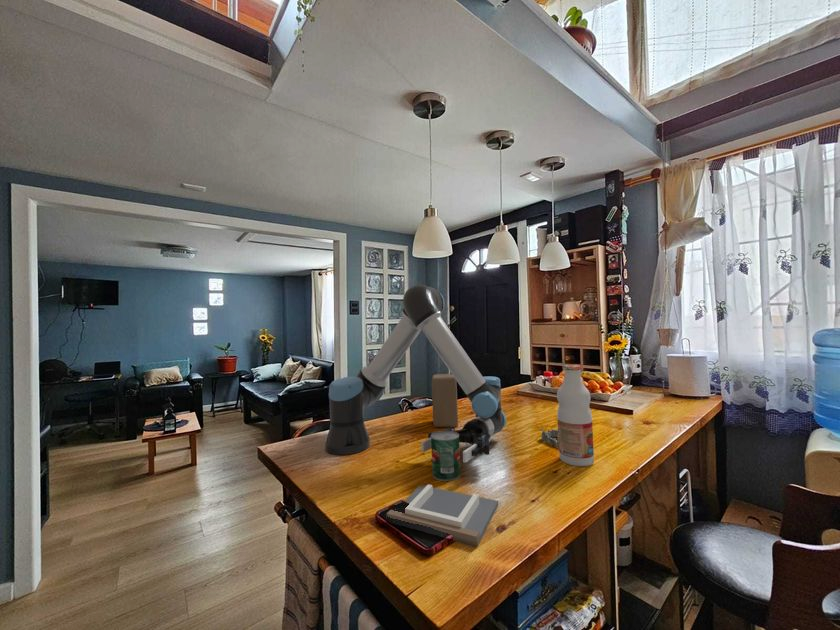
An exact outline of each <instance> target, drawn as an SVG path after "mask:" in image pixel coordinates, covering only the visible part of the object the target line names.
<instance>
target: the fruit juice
mask: <svg viewBox="0 0 840 630" xmlns="http://www.w3.org/2000/svg"><path fill="white" fill-rule="evenodd" d="M562 370H563V372H564V377H563V381H562V384H561V385H560V386H559V388H557V393H556V399H557V401H558V407H557V412H556V413H557V416H556V417H557V418H556V420H557V429H558V440H559V448H558V454H559V455H558V456H559V459H560V461H562V462H563V463H565V464H567V465H570V466H573V467H588V466H591V465H593V464H594V462H595V461H594V460H595V453H594V451H595V450H594V449H595V448H594V432H593V415H592V413H593V412H592V411H591V408H590V403H591V393H590V390H589V389H588V388H587V387H586V386H585V384H584V382H583V380H582V376H581V372H582V366H581V365H580V364H564V365H563V367H562Z"/></svg>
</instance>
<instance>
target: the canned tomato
mask: <svg viewBox="0 0 840 630" xmlns="http://www.w3.org/2000/svg"><path fill="white" fill-rule="evenodd" d="M433 432H434V433H432V432H431V433H432V434H431V448H430V449H431V467H432V468H431V473H432V475H431V476H432V477H433V479H435V480H437V481H441V482H450V481H451V482H452V481H455V480H457V479H459V478H460V477H461V456H460V455H461V454H460V442H459V434H458V433H457V432H454V431H442V430H438V431H433Z"/></svg>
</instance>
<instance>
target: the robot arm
mask: <svg viewBox="0 0 840 630" xmlns="http://www.w3.org/2000/svg"><path fill="white" fill-rule="evenodd" d="M402 306H403V308H402V310H401V314H402V317H401V319H400V320H399V321H398V323H397V324H396V326H394V328H393V330H392V331H391V333H390V334H389V335H388V337H387V339H386V340H385V341H384V343H383V344H382V345H381V347H380V349H379V350H378V352H377V353H376V354H375V356H374V357H373V358H372V360H371V361H370V362H369V364H368V365H367V366H363V367H361V369H360V370H359V372H358V374H356V376H345V377H341V378H337V379H335V380H333V381H331V383H330V384H329V386H328V400H329V422H330V423H329V430H328V434H327V437H326V440H325V451H326V452H327V453H328V454H331V455H335V456H337V455H338V456H339V455H340V456H346V455H352V454H353V455H354V454H357V453H361V452H364V451H365V450H367V449H368V448H369V447H370V446H371V440H370V439H371V438H370V436H369V434H368V430H367V428H366V425H365V414H364V413H365V409H366V408H368V407H370V406H372V405H375V404H376V403H377V402H379V400H380V399H381V398H382V397H383V395H384V392H385V388H387V386H388V380H387V379H388V378H389V376H390V375H391V374H392V372H393V371H394V369H395V368H396V366H397V365H398V363H399V362H400V361H401V360H402V358H403V356H404V355H405V353H407V351H408V350H409V348H410V347H411V346H412V344H413V342H414V341H415V340H416V338H417V337H418V336H419V334H420V332H421V331H422V332H423V334H424V335H425V337H426V338H427V340H428V341H429V343H430V344H431V346H432V347H433V349H434V350H435V351H436V354H438V356H439V357H440V359H441V360H442V362H443V363H444V364H445V366H446V367H447V369H448V370H449V372H450V374H452V375H453V376H454V378H455V379H456V382H457V383H458V385H459V386H460V388H461V389H462V391H463V392H464V394H465V396H466V397H467V398H468V400H469V402H470V403H471V409H472V412H473V413H474V414H475V417H474V418H473V419H471V420H469V421H467V422H466V423H465V424H464V425H463V427H462V428H461V429H457V430H455V428H456V427H449V428H447V429H441V431H454V432H457V433H458V434H459V443H463V444H465V443H466V444H469V445H471V446H469V447H467V448H466V449H465V450H463V451H462V462H463V463H465V464H466V463H468V462H469V461H470V460H472V459H473V458H474V457H477V456H479V455H482V454H485V455H487V456H489V455H490V444H491V443H492V441H491V439H492V436H494V435H496V434H498V433H499V432H501V431H502V430H503V429H504V428H505V426H506V425H507V416H506V414H505V412H504V411H503V409H502V387H501V379H500V378H499V377H497V376H492V375H491V376H490V375H489V376H483V375H482V373H481V372H480V371H479V370H478V368H477V366H476V365H475V364H474V362H473V360H471V358H470V357H469V355H468V353H467V352H466V351H465V349H464V348H463V346H462V345H461V344H460V342H459V341H458V340H457V338H456V337H455V335H454V334H453V332H452V331H451V330H450V328H449V327H448V325H447V324H446V322H445V321H444V319H443V318H442V314H443V311H444V309H445V298H444V297H443V295H442V293H441V292H440V291H438V290H437V288H434V287H431V286H427V285H424V284H415V285H413V286H411V287H410V288H408V289H407V290H406V291H405V293H404V295H403V299H402ZM476 415H477V416H478V417H476ZM434 432H435V431H432V432H429V433H428V434H427V435H428V436H427V439H425V440H423V441H421V444H420V445H421V446H420V447H421V448H420V449H421V452H422V453H425V452H427V451H429V450H430V449H431V434H432V433H434ZM483 444H484V445H483Z"/></svg>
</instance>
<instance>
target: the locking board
mask: <svg viewBox="0 0 840 630" xmlns="http://www.w3.org/2000/svg"><path fill="white" fill-rule="evenodd" d="M404 501H405V502H407V503H409V505H408V506H407V507H406V508H405V513H402V512H398V511H394V510H395V509H394V510H393V509H390V510H389V511H387V512H386V517H387V516H388V517H390V518H393V519H398V520H401V521H405V522H409V523H413V524H419V525H423V526H427V527H431V528H433V529H435V530H438V531H441V532H444V533H448V534H451V535H452V536H453V541H452V542H455V543H459V544H464V545H467V546H471V547H474V548H478V547H479V544H480V543H481V540H482V539H483V536H484V534H485V532H486V531H487V528H488V527H489V524H490V522H491V521H492V519H493V517H494V514H495V513H496V511H497V508H498V507H499V500H496V499H491V498H486V497H482V496H480V494H477V493H473V494H471V495H470V494H468V493H467V494H466V493H462V492H456V491H452V490H447V489H442V488H437V487H434V486H433V485H432V484H427V485H422V484H420V485H419V486H417V488H416V489H414V491H413V492H412V493H411V494H410V495H409V496H407V498H406V499H404Z"/></svg>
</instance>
